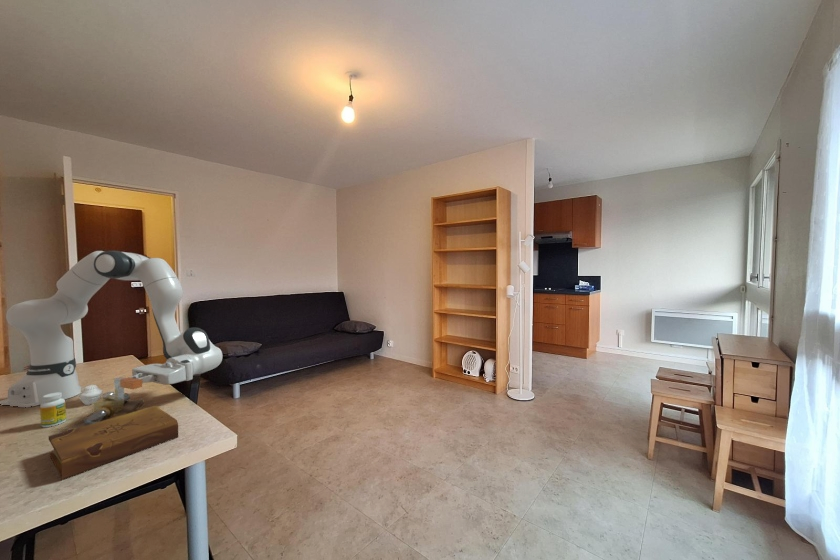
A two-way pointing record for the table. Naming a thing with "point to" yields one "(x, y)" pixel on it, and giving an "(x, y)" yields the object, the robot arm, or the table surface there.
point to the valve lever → (122, 387)
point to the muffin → (90, 394)
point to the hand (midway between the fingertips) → (131, 381)
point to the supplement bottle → (52, 410)
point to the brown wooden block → (110, 440)
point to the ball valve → (106, 409)
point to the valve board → (128, 408)
